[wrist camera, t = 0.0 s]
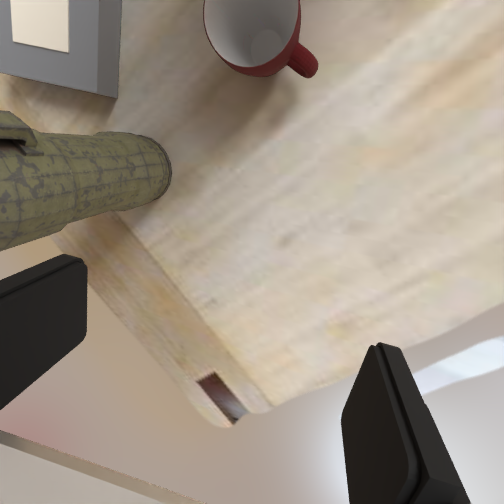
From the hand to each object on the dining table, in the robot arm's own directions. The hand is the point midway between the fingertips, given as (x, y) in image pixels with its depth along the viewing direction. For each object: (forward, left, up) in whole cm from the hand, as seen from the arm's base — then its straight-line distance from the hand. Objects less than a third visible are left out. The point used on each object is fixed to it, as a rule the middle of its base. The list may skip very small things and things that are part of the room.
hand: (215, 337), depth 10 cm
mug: (-15, -5, -31) cm, 35 cm away
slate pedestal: (-14, -31, -31) cm, 46 cm away
